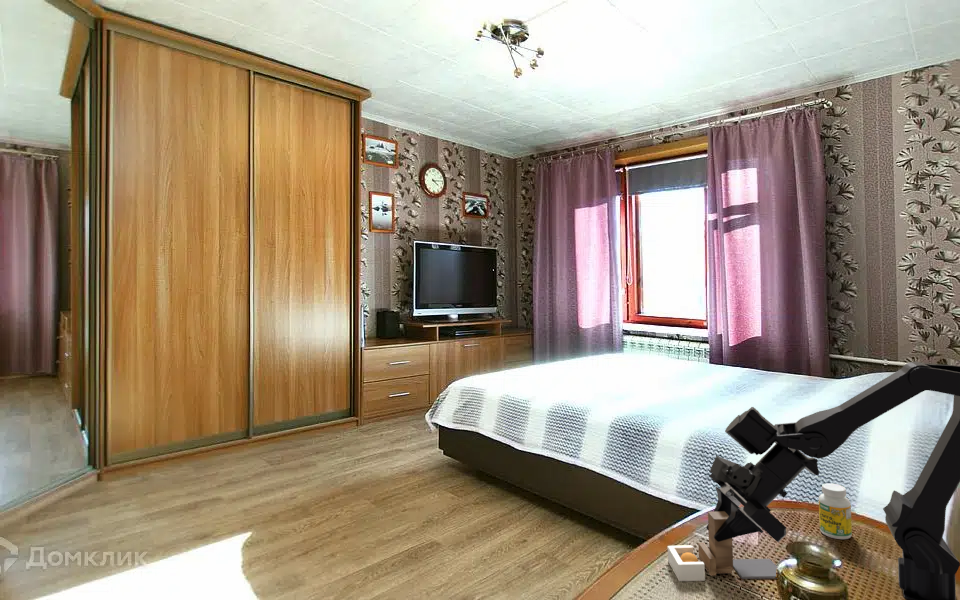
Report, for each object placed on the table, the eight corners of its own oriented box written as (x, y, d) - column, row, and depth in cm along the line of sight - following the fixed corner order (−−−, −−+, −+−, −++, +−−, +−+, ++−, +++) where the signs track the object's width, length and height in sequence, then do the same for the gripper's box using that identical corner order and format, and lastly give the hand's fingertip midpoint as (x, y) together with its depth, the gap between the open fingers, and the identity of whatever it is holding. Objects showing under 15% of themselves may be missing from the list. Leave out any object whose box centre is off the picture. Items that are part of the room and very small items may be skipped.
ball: (673, 559, 94) (683, 574, 94) (686, 563, 92) (696, 577, 92) (682, 547, 96) (692, 561, 96) (695, 549, 93) (705, 564, 93)
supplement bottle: (856, 534, 103) (855, 487, 103) (845, 543, 100) (844, 495, 100) (826, 524, 108) (824, 479, 107) (814, 532, 105) (813, 486, 104)
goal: (692, 560, 97) (691, 545, 97) (705, 580, 91) (704, 564, 90) (668, 561, 97) (667, 545, 97) (679, 581, 91) (678, 564, 91)
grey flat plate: (769, 560, 96) (769, 558, 96) (785, 578, 90) (785, 575, 90) (728, 561, 96) (728, 559, 96) (741, 578, 91) (741, 576, 91)
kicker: (723, 557, 96) (721, 508, 96) (736, 575, 91) (734, 522, 90) (698, 558, 96) (697, 508, 96) (710, 575, 91) (708, 522, 90)
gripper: (718, 428, 102) (663, 484, 103) (764, 461, 83) (697, 530, 84) (760, 466, 101) (705, 522, 103) (816, 508, 83) (748, 576, 84)
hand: (711, 534), depth 93 cm, fingers closed on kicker, 3 cm apart
